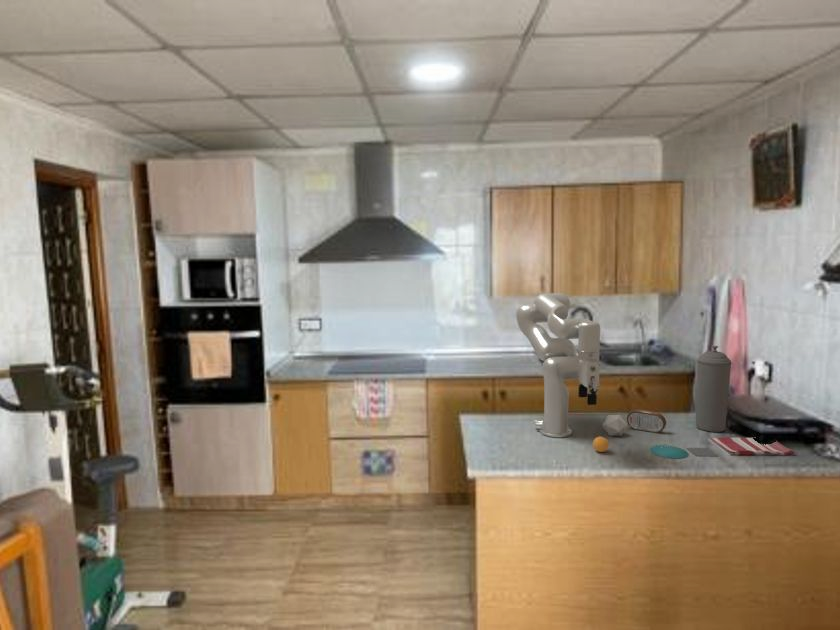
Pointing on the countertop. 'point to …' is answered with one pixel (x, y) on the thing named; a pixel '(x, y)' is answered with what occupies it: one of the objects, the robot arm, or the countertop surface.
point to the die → (614, 425)
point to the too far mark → (702, 452)
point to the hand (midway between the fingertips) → (587, 400)
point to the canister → (712, 390)
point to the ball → (601, 444)
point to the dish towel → (749, 447)
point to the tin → (646, 421)
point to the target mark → (669, 451)
